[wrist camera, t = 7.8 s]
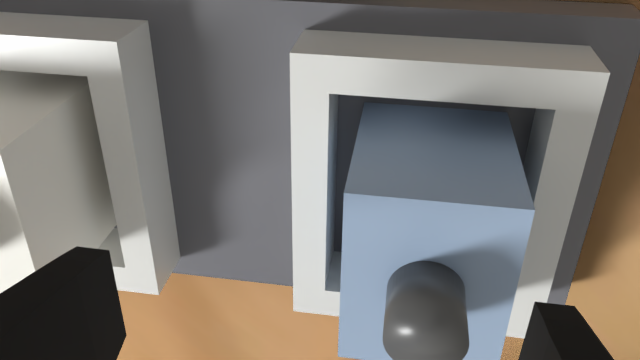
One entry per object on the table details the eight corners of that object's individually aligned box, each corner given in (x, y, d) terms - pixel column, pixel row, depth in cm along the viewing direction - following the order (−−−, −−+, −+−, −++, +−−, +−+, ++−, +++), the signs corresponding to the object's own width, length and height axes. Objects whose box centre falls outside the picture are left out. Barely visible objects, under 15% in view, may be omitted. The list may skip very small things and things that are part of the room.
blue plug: (480, 254, 19) (503, 431, 13) (357, 241, 20) (329, 408, 14) (507, 112, 17) (548, 258, 11) (364, 102, 17) (333, 235, 11)
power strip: (553, 287, 21) (573, 362, 18) (-57, 221, 24) (-125, 276, 21) (632, 4, 16) (678, 44, 13) (-155, -35, 19) (-262, -9, 16)
